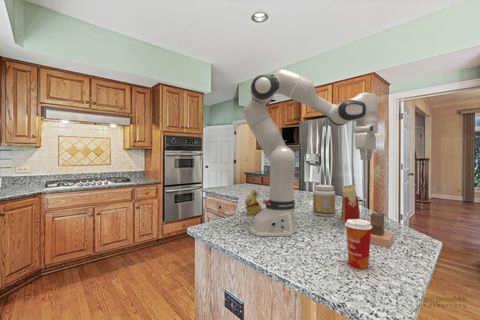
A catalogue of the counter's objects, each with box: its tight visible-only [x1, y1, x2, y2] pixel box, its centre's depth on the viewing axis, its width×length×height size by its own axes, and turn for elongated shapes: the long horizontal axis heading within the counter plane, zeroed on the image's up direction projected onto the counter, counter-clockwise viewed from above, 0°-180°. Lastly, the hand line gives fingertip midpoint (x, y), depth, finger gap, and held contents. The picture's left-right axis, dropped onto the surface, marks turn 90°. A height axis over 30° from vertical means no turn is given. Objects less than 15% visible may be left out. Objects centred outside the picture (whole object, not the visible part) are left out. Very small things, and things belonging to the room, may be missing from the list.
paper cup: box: [344, 218, 372, 270], centre depth 75 cm, size 8×8×14 cm
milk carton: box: [340, 183, 361, 224], centre depth 124 cm, size 9×9×20 cm
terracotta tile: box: [370, 231, 395, 249], centre depth 96 cm, size 10×10×3 cm
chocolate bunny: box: [244, 188, 263, 216], centre depth 138 cm, size 7×11×15 cm, turn 112°
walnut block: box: [369, 212, 385, 236], centre depth 96 cm, size 4×4×8 cm
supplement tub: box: [312, 184, 336, 218], centre depth 138 cm, size 12×12×17 cm
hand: (366, 159), depth 107 cm, fingers open, 8 cm apart
